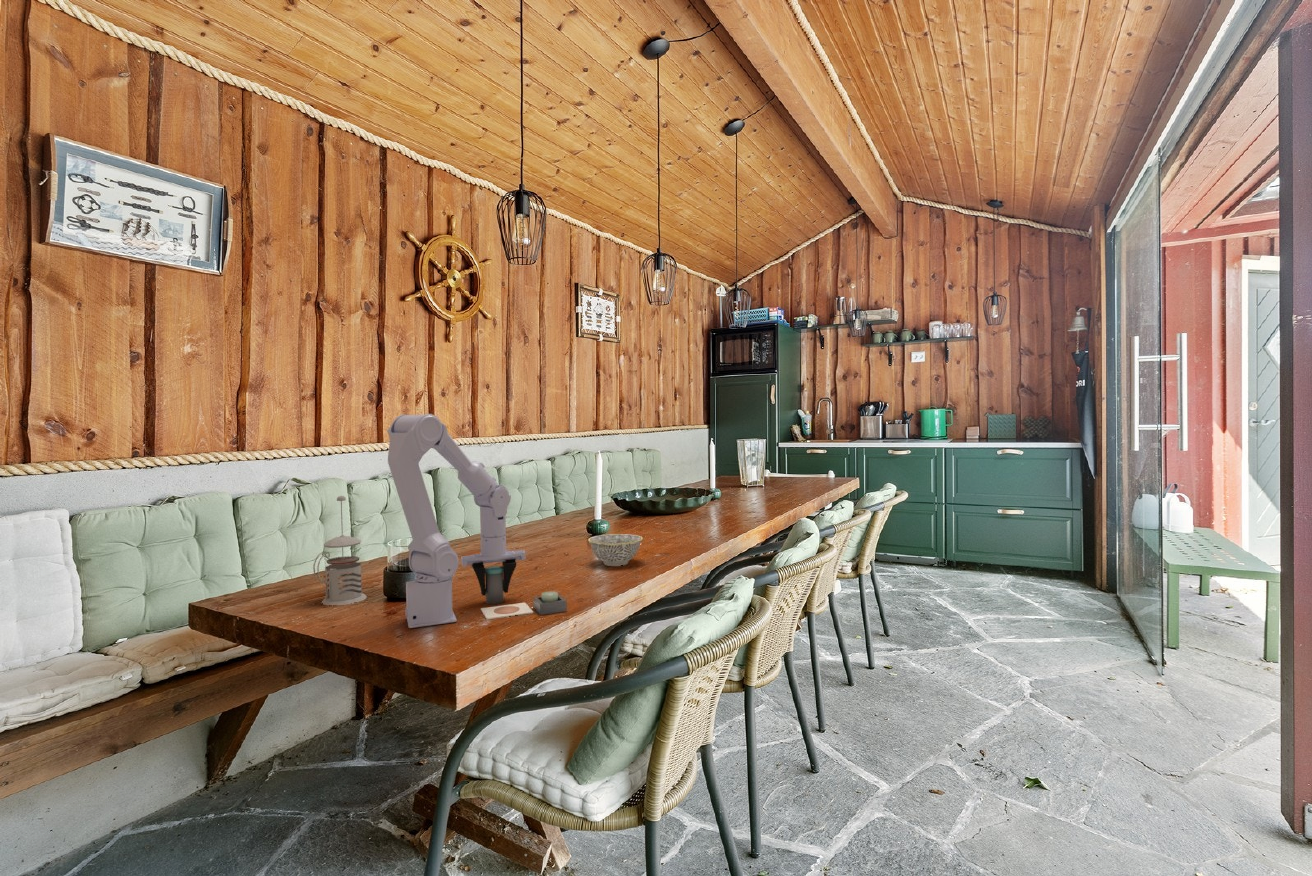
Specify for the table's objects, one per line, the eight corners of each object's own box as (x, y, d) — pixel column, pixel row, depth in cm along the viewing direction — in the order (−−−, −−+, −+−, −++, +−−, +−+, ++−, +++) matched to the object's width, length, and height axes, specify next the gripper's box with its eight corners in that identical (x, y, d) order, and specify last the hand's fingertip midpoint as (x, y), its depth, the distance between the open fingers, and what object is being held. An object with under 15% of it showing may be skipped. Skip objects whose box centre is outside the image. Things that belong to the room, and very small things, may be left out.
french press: (375, 597, 155) (372, 494, 154) (328, 610, 145) (324, 500, 144) (352, 591, 160) (349, 492, 159) (305, 603, 150) (301, 497, 150)
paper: (486, 619, 136) (486, 618, 136) (480, 609, 143) (480, 608, 143) (533, 613, 140) (533, 611, 140) (525, 603, 148) (525, 602, 148)
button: (543, 605, 140) (543, 596, 140) (539, 601, 144) (539, 592, 144) (559, 603, 142) (559, 594, 142) (555, 599, 145) (555, 590, 145)
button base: (540, 615, 139) (539, 604, 139) (533, 607, 144) (533, 597, 144) (566, 611, 141) (566, 600, 141) (559, 604, 147) (559, 593, 147)
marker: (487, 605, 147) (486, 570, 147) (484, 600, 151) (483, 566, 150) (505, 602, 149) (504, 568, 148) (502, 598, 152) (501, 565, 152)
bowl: (586, 559, 193) (586, 534, 193) (638, 556, 196) (638, 532, 196) (590, 571, 177) (590, 545, 177) (647, 568, 180) (647, 542, 180)
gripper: (520, 530, 156) (521, 585, 156) (458, 535, 150) (460, 592, 150) (527, 534, 149) (528, 592, 150) (462, 540, 143) (464, 600, 144)
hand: (494, 593), depth 150 cm, fingers open, 4 cm apart
